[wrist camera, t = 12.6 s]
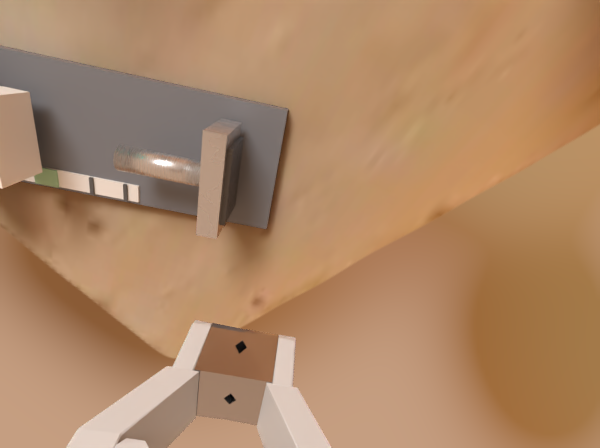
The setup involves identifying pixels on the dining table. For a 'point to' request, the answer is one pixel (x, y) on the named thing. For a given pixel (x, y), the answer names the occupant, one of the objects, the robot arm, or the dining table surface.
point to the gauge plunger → (197, 172)
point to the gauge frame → (139, 133)
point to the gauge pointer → (17, 138)
